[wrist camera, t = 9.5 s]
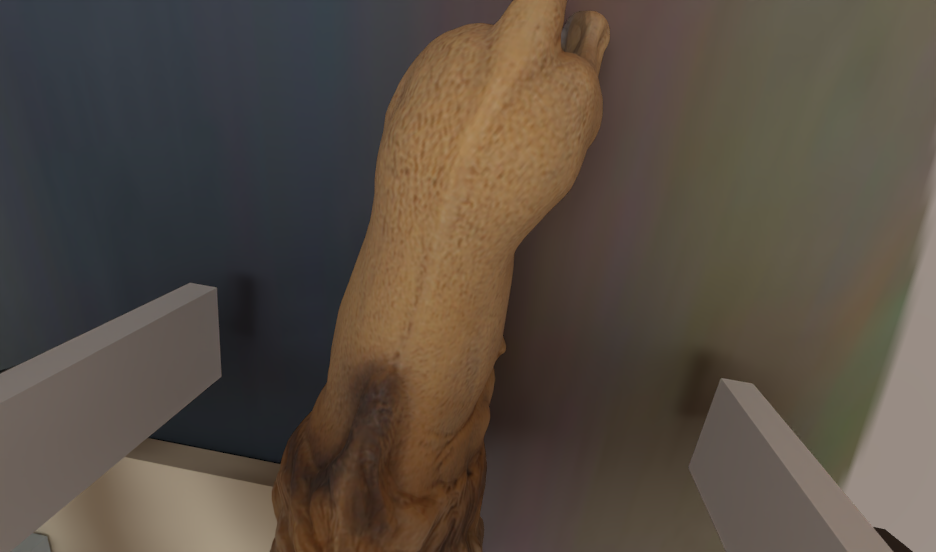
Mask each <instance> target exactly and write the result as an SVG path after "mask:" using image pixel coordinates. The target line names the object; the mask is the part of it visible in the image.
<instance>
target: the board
mask: <svg viewBox="0 0 936 552" xmlns="http://www.w3.org/2000/svg"><path fill="white" fill-rule="evenodd" d="M280 465H281V464H277V463H272V462H267V461H262V460H257V459H252V458H247V457H241V456H236V455H231V454H226V453H221V452H216V451H211V450H206V449H201V448H196V447H191V446H186V445H181V444H176V443H171V442H166V441H160V440H155V439H150V438H147V439H145V440H144V441H143V442H142V443H141V444H139V445H138V446H137V447H136V448H135V449H133V450H132V451H131V452H130V453H129V454H127V455H126V456H125V457H124V458H123V459H121V460H120V461H119V462H118V463H117V464H115V465H114V466H113V467H112V468H110V469H109V470H108V471H107V472H106V473H104V474H103V475H102V476H101V477H100V478H98V479H97V480H96V481H95V482H94V483H92V484H91V485H90V486H89V487H88V488H86V489H85V490H84V491H83V492H82V493H80V494H79V495H78V496H77V497H75V498H74V499H73V500H72V501H71V502H69V503H68V504H67V505H66V506H65V507H63V508H62V509H61V510H60V511H59V512H57V513H56V514H55V515H54V516H53V517H51V518H50V519H49V520H48V521H47V522H45V523H44V524H43V525H42V526H41V527H39V528H38V529H37V530H36V531H34V532H33V533H34V534H39V535H44V536H47V538H48V542H49V547H50V551H51V552H270V550H271V546H272V542H273V540H274V538H275V533H276V527H277V520H276V517H275V514H274V509H273V504H272V488H273V485H274V482H275V480H276V478H277V474H278V472H279V470H280Z"/></svg>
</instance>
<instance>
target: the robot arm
mask: <svg viewBox="0 0 936 552" xmlns="http://www.w3.org/2000/svg"><path fill="white" fill-rule="evenodd" d="M221 376H222V375H221V356H220V338H219V319H218V300H217V287H211V286H205V285H200V284H194V283H188V284H186V285H184V286H182V287H180V288H178V289H176V290H174V291H172V292H170V293H168V294H165V295H163V296H161V297H159V298H157V299H155V300H153V301H151V302H149V303H147V304H145V305H142V306H140V307H138V308H136V309H134V310H132V311H130V312H128V313H126V314H124V315H122V316H119V317H117V318H115V319H113V320H111V321H109V322H107V323H105V324H103V325H101V326H99V327H97V328H94V329H92V330H90V331H88V332H86V333H84V334H82V335H80V336H78V337H76V338H74V339H71V340H69V341H67V342H65V343H63V344H61V345H59V346H57V347H55V348H53V349H51V350H48V351H46V352H44V353H42V354H40V355H38V356H36V357H34V358H32V359H30V360H28V361H25V362H23V363H21V364H19V365H17V366H14V367H11V368H8V369H5V370H1V371H0V552H10V551H12V550H13V549H14V548H15V547H16V546H18V545H19V544H20V543H21V542H22V541H24V540H25V539H26V538H27V537H28V536H30V535H31V534H32V533H33V532H34V531H36V530H37V529H38V528H39V527H41V526H42V525H43V524H44V523H45V522H47V521H48V520H49V519H50V518H51V517H53V516H54V515H55V514H56V513H57V512H59V511H60V510H61V509H62V508H63V507H65V506H66V505H67V504H68V503H69V502H71V501H72V500H73V499H74V498H75V497H77V496H78V495H79V494H80V493H82V492H83V491H84V490H85V489H86V488H88V487H89V486H90V485H91V484H92V483H94V482H95V481H96V480H97V479H98V478H100V477H101V476H102V475H103V474H104V473H106V472H107V471H108V470H109V469H110V468H112V467H113V466H114V465H115V464H117V463H118V462H119V461H120V460H121V459H123V458H124V457H125V456H126V455H127V454H129V453H130V452H131V451H132V450H133V449H135V448H136V447H137V446H138V445H139V444H141V443H142V442H143V441H144V440H145V439H147V438H148V437H149V436H150V435H151V434H153V433H154V432H155V431H156V430H158V429H159V428H160V427H161V426H162V425H164V424H165V423H166V422H167V421H168V420H170V419H171V418H172V417H173V416H174V415H176V414H177V413H178V412H179V411H180V410H182V409H183V408H184V407H185V406H186V405H188V404H189V403H190V402H191V401H193V400H194V399H195V398H196V397H197V396H199V395H200V394H201V393H202V392H203V391H205V390H206V389H207V388H208V387H209V386H211V385H212V384H213V383H214V382H215V381H217V380H218V379H219V378H220V377H221ZM688 468H689V470H690V473H691V475H692V477H693V479H694V482H695V484H696V486H697V488H698V490H699V493H700V495H701V497H702V499H703V502H704V504H705V506H706V508H707V511H708V513H709V515H710V517H711V519H712V522H713V524H714V526H715V528H716V531H717V533H718V535H719V537H720V540H721V542H722V544H723V546H724V549H725V551H726V552H912V551H911V550H910V549H909V548H907V547H906V546H905V545H904V544H903V543H901V542H900V541H899V540H898V539H896V538H895V537H894V536H892V535H891V534H890V533H889V532H888V531H886V530H885V529H881V528H876V527H872V526H871V524H870V523H869V522H868V521H867V520H866V518H865V517H864V516H863V515H862V513H861V512H860V511H859V510H858V509H857V507H856V506H855V505H854V504H853V503H852V502H851V500H850V499H849V498H848V497H847V496H846V494H845V493H844V492H843V491H842V490H841V488H840V487H839V486H838V485H837V484H836V482H835V481H834V480H833V479H832V478H831V476H830V475H829V474H828V473H827V472H826V470H825V469H824V468H823V467H822V466H821V464H820V463H819V462H818V461H817V460H816V458H815V457H814V456H813V455H812V454H811V452H810V451H809V450H808V449H807V448H806V446H805V445H804V444H803V443H802V442H801V440H800V439H799V438H798V437H797V436H796V434H795V433H794V432H793V431H792V430H791V428H790V427H789V426H788V425H787V424H786V422H785V421H784V420H783V419H782V418H781V416H780V415H779V414H778V413H777V412H776V410H775V409H774V408H773V407H772V406H771V404H770V403H769V402H768V401H767V400H766V398H765V397H764V396H763V395H762V394H761V392H760V391H759V390H758V389H757V388H756V386H755V385H754V384H753V383H747V382H741V381H736V380H730V379H725V378H721V379H720V381H719V384H718V387H717V390H716V392H715V395H714V398H713V401H712V403H711V406H710V409H709V412H708V414H707V417H706V420H705V423H704V425H703V428H702V431H701V434H700V436H699V439H698V442H697V445H696V447H695V450H694V453H693V456H692V458H691V461H690V464H689V467H688Z"/></svg>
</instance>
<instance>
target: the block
mask: <svg viewBox="0 0 936 552" xmlns="http://www.w3.org/2000/svg"><path fill="white" fill-rule="evenodd" d="M10 552H51V551H50V547H49V542H48V538H47V536H44V535H39V534H34V533H32V534H31V535H30V536H28V537H27V538H26V539H25V540H24V541H22V542H21V543H20V544H19V545H18V546H16V547H15V548H14V549H13V550H12V551H10Z"/></svg>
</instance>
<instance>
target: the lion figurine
mask: <svg viewBox="0 0 936 552" xmlns="http://www.w3.org/2000/svg"><path fill="white" fill-rule="evenodd" d="M566 4H567V0H513V2H512V3H511V4H510V5H509V7H508V8H507V10H506V11H505V12H504V14H503V15H502V17H501V18H500V20H499V21H498V22H497V23H496V24H495V25H491V24H485V23H476V24H467V25H464V26H462V27H459V28H456V29H453V30H451V31H448V32H445V33H444V34H442V35H440V36H439V37H437V38H436V39H434V40H433V41H432V42H431V43H430V44H429V45H428V46H427V47H426V48H425V49H424V50H423V51H422V52H421V53H420V54H419V55H418V56H417V57H416V59H415V60H414V61H413V63H412V64H411V66H410V67H409V68H408V70H407V71H406V73H405V75H404V76H403V78H402V79H401V81H400V83H399V85H398V87H397V89H396V91H395V93H394V95H393V97H392V100H391V102H390V104H389V106H388V109H387V112H386V115H385V123H384V130H383V135H382V139H381V143H380V147H379V152H378V156H377V164H376V172H375V195H374V201H373V207H372V213H371V218H370V223H369V226H368V229H367V232H366V236H365V239H364V242H363V244H362V247H361V250H360V253H359V256H358V258H357V261H356V264H355V267H354V269H353V272H352V275H351V278H350V280H349V283H348V286H347V289H346V291H345V294H344V296H343V299H342V302H341V305H340V308H339V311H338V317H337V322H336V327H335V332H334V337H333V342H332V348H331V357H330V366H329V370H328V379H327V383H326V385H325V386H324V388H323V389H322V391H321V393H320V394H319V396H318V398H317V400H316V403H315V405H314V407H313V410H312V412H310V413H309V414H308V415H307V416H306V418H305V419H304V420H303V421H302V422H301V423H300V425H299V426H298V427H297V428H296V430H295V431H294V433H293V434H292V435H291V437H290V438H289V440H288V442H287V445H286V448H285V450H284V453H283V456H282V460H281V465H280V470H279V472H278V474H277V478H276V480H275V482H274V485H273V488H272V504H273V509H274V514H275V517H276V520H277V527H276V533H275V538H274V540H273V542H272V546H271V550H270V552H482V543H483V536H484V524H483V520H482V518H481V517H480V510H481V504H482V499H483V493H484V489H485V482H486V471H487V462H486V451H485V446H484V435H485V433H486V430H487V427H488V425H489V420H490V409H489V404H490V401H491V397H492V393H493V389H494V383H495V374H494V368H493V366H494V364H495V361H496V360H497V359H498V357H499V356H500V355H501V354H503V353H504V352H505V350H506V344H505V340H504V338H503V332H504V326H505V320H506V314H507V308H508V301H509V295H510V289H511V282H512V276H513V266H514V253H515V251H516V249H517V247H518V246H519V244H520V243H521V242H522V240H523V239H524V238H525V237H526V236H527V235H528V234H529V233H530V231H531V230H532V229H533V228H534V227H535V226H536V225H537V224H538V223H539V222H540V221H541V220H542V219H543V217H544V216H545V215H546V214H547V213H548V212H549V211H550V210H551V209H552V208H553V207H554V206H555V205H556V204H557V203H558V202H559V201H560V200H561V199H562V198H563V197H564V196H565V195H566V194H567V193H568V192H569V191H570V189H571V188H572V186H573V184H574V182H575V180H576V178H577V176H578V174H579V171H580V168H581V166H582V163H583V160H584V158H585V155H586V151H587V149H588V148H589V146H590V145H591V144H592V142H593V141H594V139H595V137H596V135H597V133H598V131H599V128H600V125H601V120H602V114H603V98H602V94H601V89H600V84H599V79H598V74H599V70H600V66H601V62H602V58H603V53H604V51H605V49H606V47H607V45H608V43H609V38H610V28H609V25H608V22H607V20H606V19H605V18H604V16H603V15H601V14H599V13H598V12H596V11H579V12H576V13H574V14H573V15H572V16H570V17H569V19H568V21H567V22H566V24H565V26H564V27H563V22H564V15H565V8H566ZM562 28H563V29H562Z"/></svg>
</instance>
